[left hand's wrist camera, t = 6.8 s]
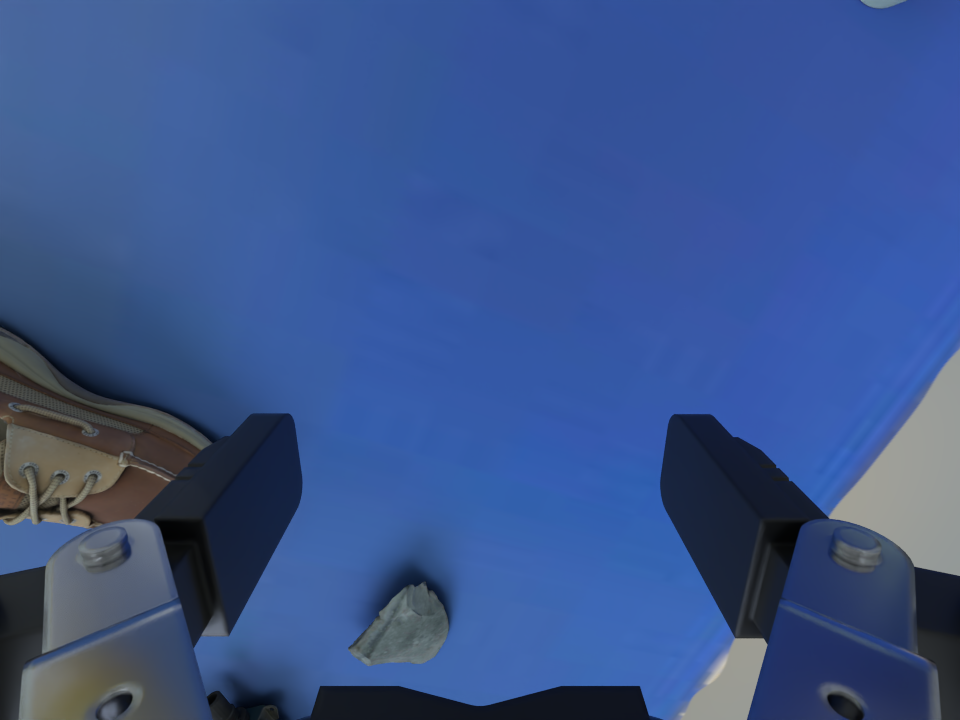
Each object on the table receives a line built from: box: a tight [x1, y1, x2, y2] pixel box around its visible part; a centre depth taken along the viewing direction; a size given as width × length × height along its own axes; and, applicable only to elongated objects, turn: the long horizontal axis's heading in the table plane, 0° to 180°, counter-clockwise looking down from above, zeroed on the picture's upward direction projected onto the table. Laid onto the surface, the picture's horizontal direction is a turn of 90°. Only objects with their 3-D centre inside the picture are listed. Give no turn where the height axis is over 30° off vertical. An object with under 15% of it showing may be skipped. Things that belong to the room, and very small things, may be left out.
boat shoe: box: [0, 327, 213, 529], centre depth 39 cm, size 11×29×10 cm, turn 58°
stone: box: [348, 582, 449, 666], centre depth 49 cm, size 11×4×10 cm
